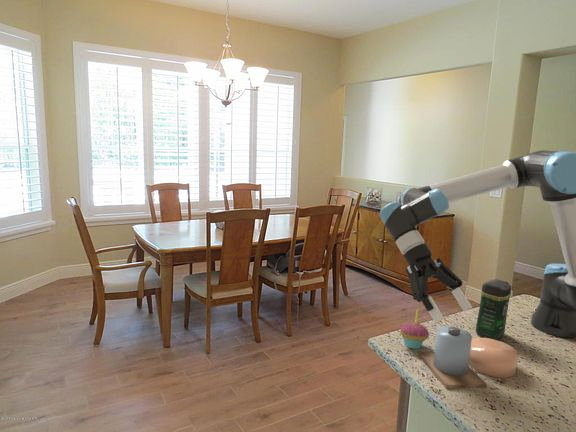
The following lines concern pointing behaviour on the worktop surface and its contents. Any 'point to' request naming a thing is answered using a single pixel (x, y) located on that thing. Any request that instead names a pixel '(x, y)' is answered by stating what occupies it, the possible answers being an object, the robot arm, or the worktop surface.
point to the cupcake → (414, 333)
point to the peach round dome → (493, 357)
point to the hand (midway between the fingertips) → (454, 315)
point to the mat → (452, 381)
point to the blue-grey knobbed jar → (452, 350)
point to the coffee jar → (493, 309)
